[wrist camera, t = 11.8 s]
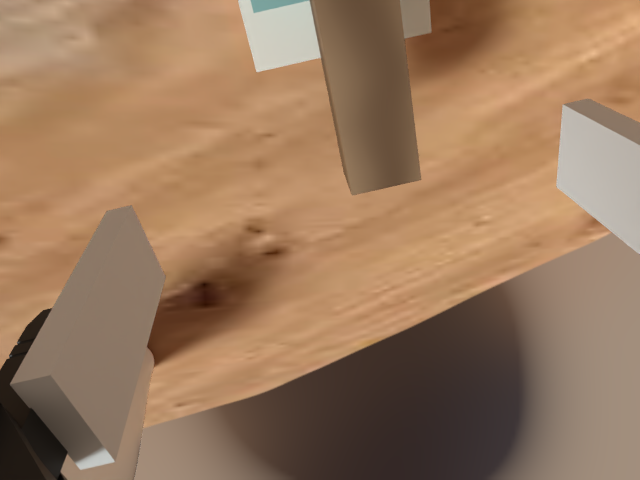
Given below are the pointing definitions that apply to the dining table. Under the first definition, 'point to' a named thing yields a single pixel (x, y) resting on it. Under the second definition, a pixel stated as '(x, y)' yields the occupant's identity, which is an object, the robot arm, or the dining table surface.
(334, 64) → the batten
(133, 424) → the drinking glass
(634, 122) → the robot arm
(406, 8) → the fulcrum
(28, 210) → the dining table surface
